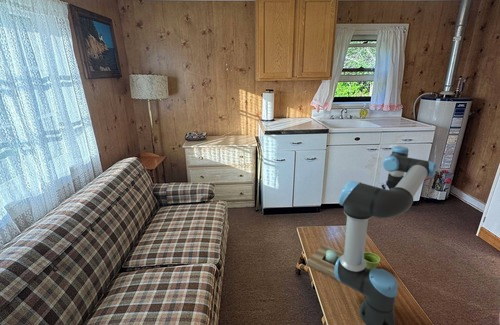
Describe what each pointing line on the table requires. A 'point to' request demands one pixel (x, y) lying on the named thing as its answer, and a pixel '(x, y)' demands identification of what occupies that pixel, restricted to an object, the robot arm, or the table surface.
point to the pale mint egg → (331, 256)
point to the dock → (323, 261)
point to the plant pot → (371, 260)
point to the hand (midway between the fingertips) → (389, 212)
